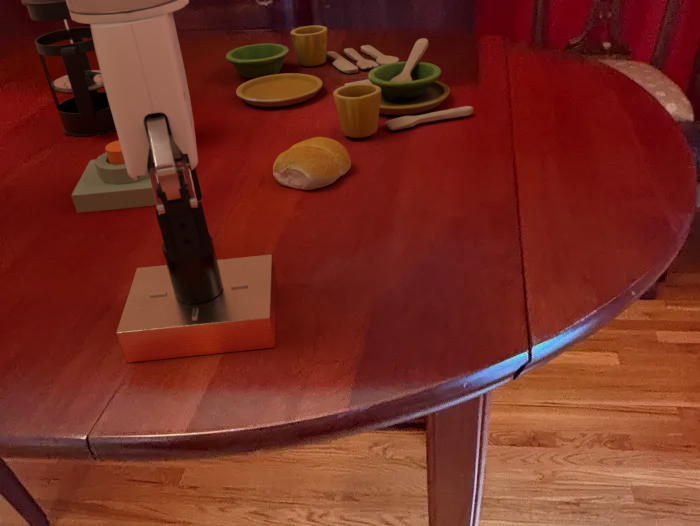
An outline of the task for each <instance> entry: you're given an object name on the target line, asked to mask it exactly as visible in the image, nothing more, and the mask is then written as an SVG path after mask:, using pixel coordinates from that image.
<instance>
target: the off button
mask: <svg viewBox="0 0 700 526" xmlns="http://www.w3.org/2000/svg"><path fill="white" fill-rule="evenodd" d="M104 149H105V153H107V157H108V160H109V163H110V164H113V165H121V164H125V161H124V157H123V153H122V149H121V145H120V142H119V139H118V140H117V139H116V140H114V141H112V142H110V143H107V144H106V145H105V147H104Z"/></svg>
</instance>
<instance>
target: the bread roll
mask: <svg viewBox="0 0 700 526" xmlns="http://www.w3.org/2000/svg"><path fill="white" fill-rule="evenodd" d="M351 167H352V159H351V156H350V153H349V152H348V150H347V148H346V147H345V146H344V145H343V144H342V143H340V142H339V141H337V140H335V139H334V138H329V137H325V136H314V137H311V138H308V139H304V140H302V141H300V142H296V143H294V144H293V145H292V146H291V147H290V148H288V149H287V150H284V151H283V152H281V153H280V154H279V155H278V156H276V159H275V160H274V162H273V166H272V175H273V178H274V179H275V180H276V182H277V183H279V184H280V185H281V186H284V187H289V188H291V189H294V190H295V189H296V190H303V191H307V190H308V191H310V190H316V189H321V188H323V187H327V186H329V185H331V184H333V183H335V182H337V180H338V179H340V177H342V176H344V175H346V174H347V172H348V171H349V170H350V169H351Z"/></svg>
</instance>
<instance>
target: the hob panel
mask: <svg viewBox="0 0 700 526" xmlns="http://www.w3.org/2000/svg"><path fill="white" fill-rule="evenodd" d="M217 261H218V266H219V270H220V275H221V279H222V284H223V289H222V291H221V293H220V294H219V295H218V296H216V297H215V298H213V299H211V300H208V301H205V302H201V303H184V302H181V301H179V300H178V299H177V298H176V297H175V294H174V290H173V287H172V283H171V279H170V276H169V272H168V268H167V265H166V264H164V265H163V264H162V265H154V266H143V267H137V268H136V269H135V273H134V276H133V279H132V283H131V286H130V289H129V292H128V295H127V299H126V301H125V305H124V307H123V311H122V314H121V317H120V320H119V323H118V326H117V328H116V329H117V330H116V332H115V334H116V336H117V339H118V342H119V345H120V348H121V351H122V354H123V357H124V359H125V362H126V364H129V363H138V362H139V363H140V362H150V361H157V360H168V359H177V358H186V357H187V358H188V357H196V356H206V355H216V354H227V353H236V352H246V351H255V350H264V349H275V348H276V334H277V333H276V331H277V329H276V327H277V287H278V284H277V283H278V282H277V277H276V270H275V263H274V259H273V254H264V255H263V254H262V255H253V256H251V255H250V256H244V257H243V256H242V257H232V258H225V259H223V258H221V259H217Z"/></svg>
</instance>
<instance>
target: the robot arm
mask: <svg viewBox="0 0 700 526" xmlns="http://www.w3.org/2000/svg"><path fill="white" fill-rule="evenodd" d="M66 3H67V6H68V9H69V12H70V16H71V19H70V20H72V21H73V22H76V23H79V24H85V25H89V27H91V32H92V37H93V38H92V39H93V42H94V47H95V50H94V51H95V56H96V59H97V64H98V68H99V70H100V72H101V76H102V79H103V83H104V90H105V91H104V92H106V94H107V98H108V102H109V105H110V109H111V112H112V116H113V120H114V123H115V127H116V131H117V132H116V134H117V137H118V140H119V142H120V145H121V149H122V153H123V157H124V161H125V165H126V169H127V173H128V175H129V176H130V177H131V178H132V179H134V180H139V176H143V175H146V170H147V167H148V173H149V176H150V180H151V185H152V189H153V194H154V198H155V202H156V205H155V206H156V209H155V211H154V212H155V216H156V220H157V223H158V226H159V230H160V234H161V237H162V241H163V243H164V244H165V248H166V251H167V255H168V258H169V260H170V261H171V262H179V261H184V260H189V259H194V258H199V257H204V256H209V255H211V254H212V252H213V249H212V244H211V240H210V236H209V234H210V232H209V227H208V223H207V220H206V219H207V218H206V215H205V211H204V207H203V203H202V201H201V200H202V199H203V195H202V194H203V193H202V191H201V186H200V182H199V178H198V174H197V173H198V172H197V169H196V167H197V166H198V164H199V159H198V158H199V157H198V149H197V148H198V147H197V137H196V130H195V122H194V115H193V114H194V113H193V108H192V102H191V96H190V90H189V85H188V79H187V75H186V70H185V65H184V60H183V54H182V49H181V46H180V41H179V37H178V31H177V27H176V23H175V18H174V12H177V11H179V10H181V9H183V8H185V7H186V6H188V4H190V0H66ZM152 158H153V159H152Z"/></svg>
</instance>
